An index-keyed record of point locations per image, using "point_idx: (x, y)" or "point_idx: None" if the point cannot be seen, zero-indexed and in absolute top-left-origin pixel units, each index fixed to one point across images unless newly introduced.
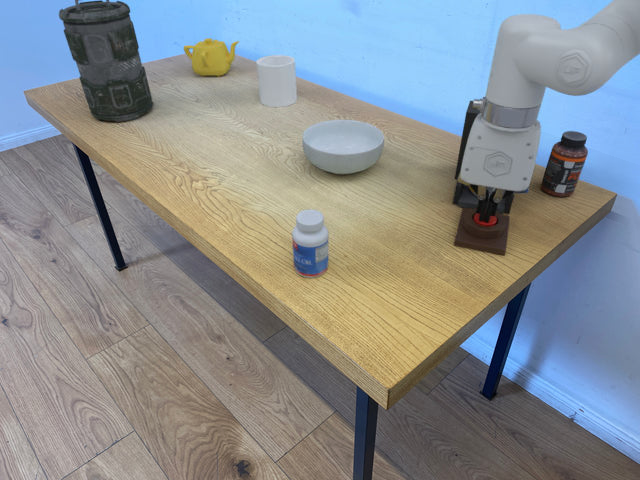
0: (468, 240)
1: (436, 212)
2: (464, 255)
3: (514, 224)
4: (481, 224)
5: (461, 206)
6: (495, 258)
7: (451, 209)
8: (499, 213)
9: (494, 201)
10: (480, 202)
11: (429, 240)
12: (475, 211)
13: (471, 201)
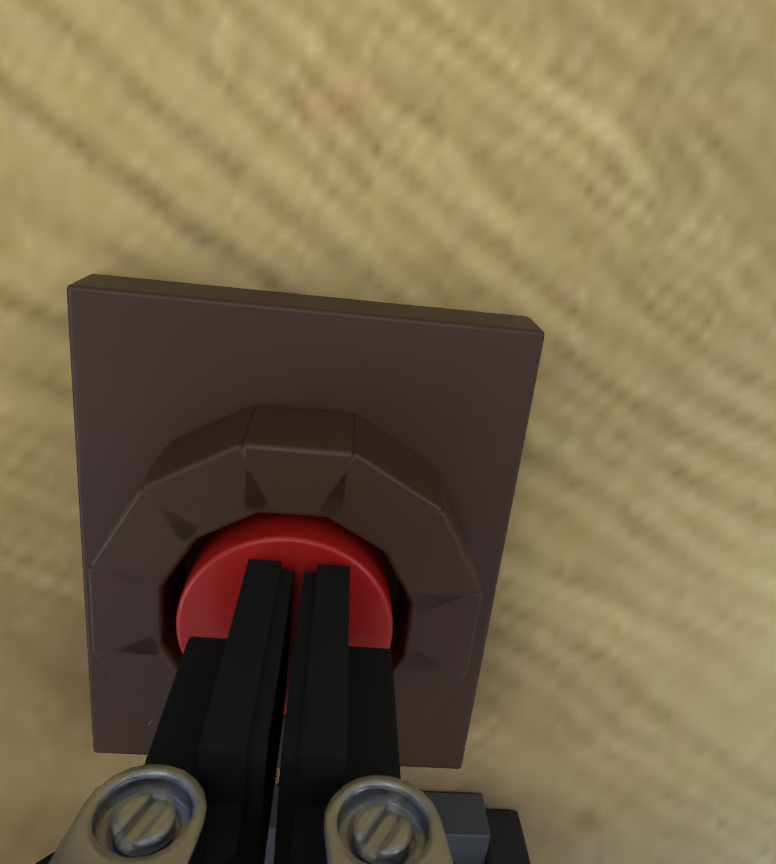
0: (419, 352)
1: (639, 700)
2: (437, 196)
3: (62, 694)
4: (318, 533)
5: (456, 797)
6: (164, 218)
7: (526, 755)
8: None
9: (186, 777)
10: (372, 754)
11: (729, 343)
12: None
13: None
